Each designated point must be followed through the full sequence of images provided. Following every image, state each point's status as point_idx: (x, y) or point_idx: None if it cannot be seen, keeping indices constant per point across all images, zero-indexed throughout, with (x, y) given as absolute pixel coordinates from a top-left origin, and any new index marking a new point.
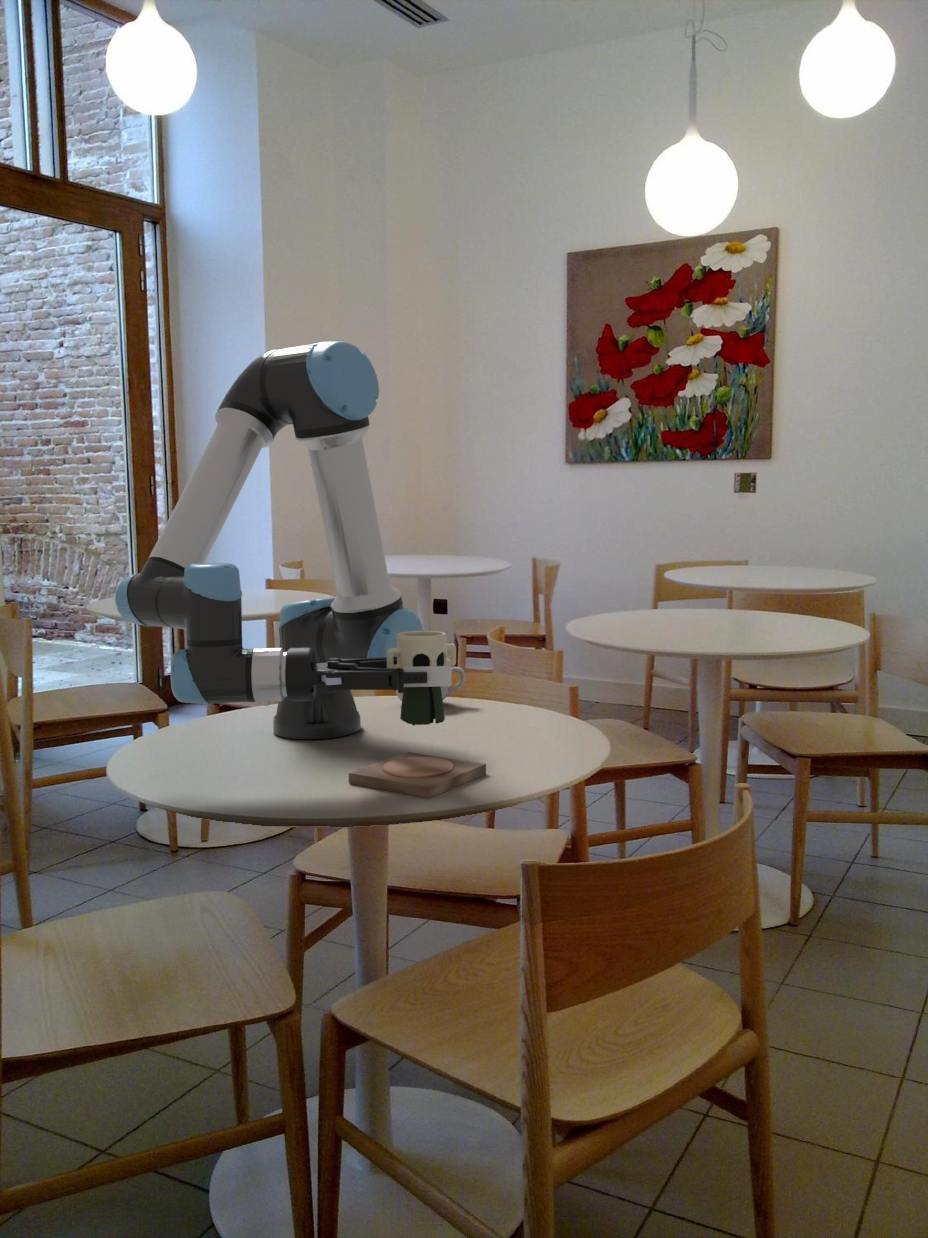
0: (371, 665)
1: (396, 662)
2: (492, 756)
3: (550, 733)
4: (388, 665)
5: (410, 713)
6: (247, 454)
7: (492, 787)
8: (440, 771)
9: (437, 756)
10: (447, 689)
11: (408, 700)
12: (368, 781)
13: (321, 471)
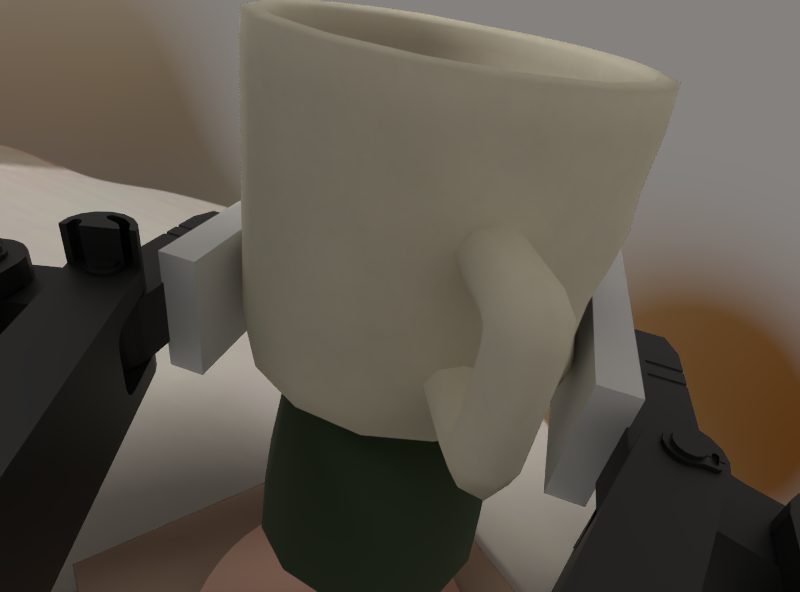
0: (5, 518)
1: (129, 305)
2: (229, 368)
3: (150, 230)
4: (519, 462)
5: (449, 554)
6: None
7: (507, 490)
8: (451, 586)
9: (219, 502)
10: None
11: (441, 512)
12: None
13: None
